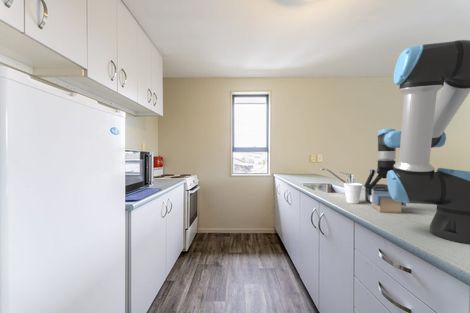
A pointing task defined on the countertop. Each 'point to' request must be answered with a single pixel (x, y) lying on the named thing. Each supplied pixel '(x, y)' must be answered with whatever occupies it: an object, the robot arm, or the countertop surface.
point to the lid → (382, 195)
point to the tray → (388, 206)
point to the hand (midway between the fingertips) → (385, 202)
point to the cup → (352, 192)
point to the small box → (376, 188)
